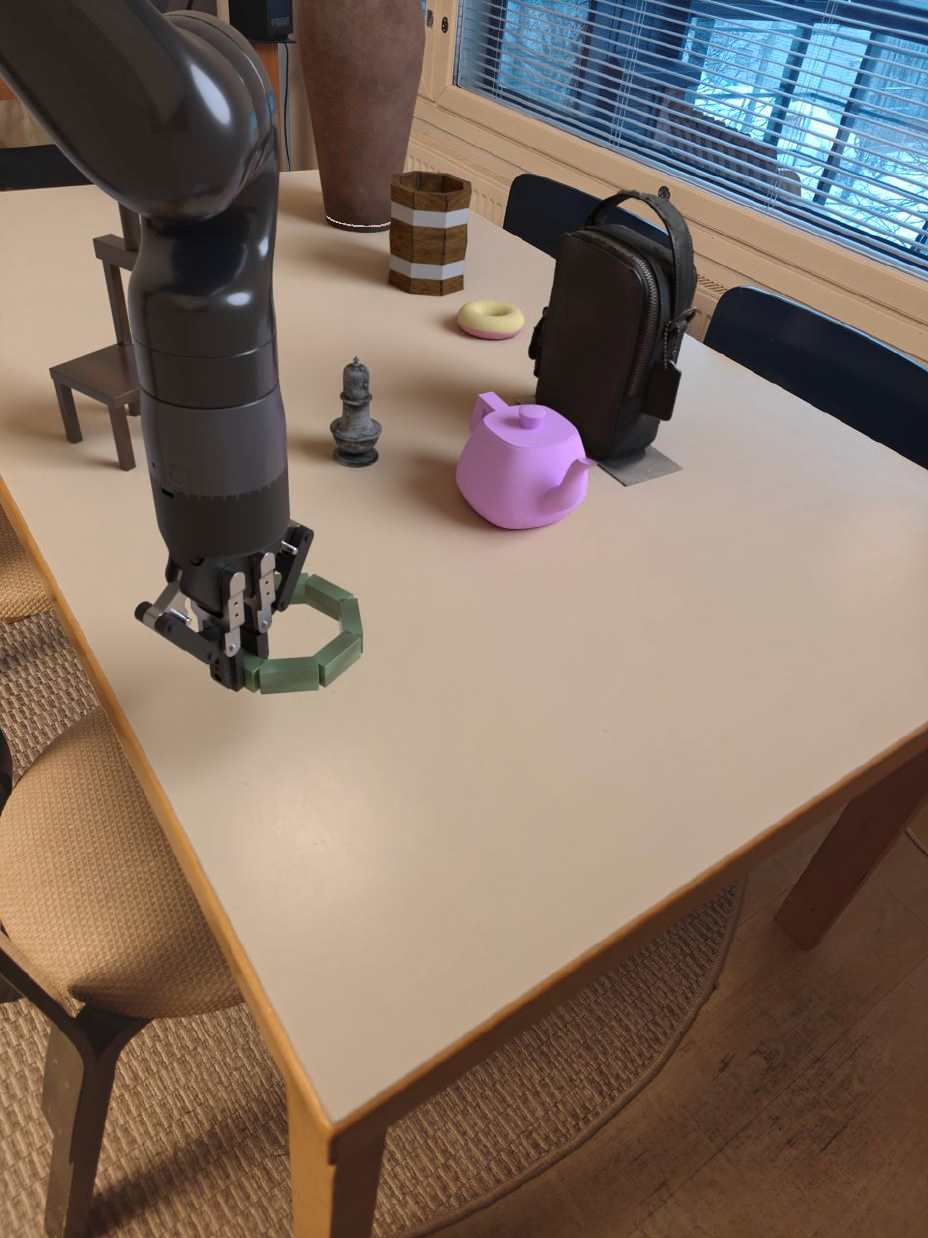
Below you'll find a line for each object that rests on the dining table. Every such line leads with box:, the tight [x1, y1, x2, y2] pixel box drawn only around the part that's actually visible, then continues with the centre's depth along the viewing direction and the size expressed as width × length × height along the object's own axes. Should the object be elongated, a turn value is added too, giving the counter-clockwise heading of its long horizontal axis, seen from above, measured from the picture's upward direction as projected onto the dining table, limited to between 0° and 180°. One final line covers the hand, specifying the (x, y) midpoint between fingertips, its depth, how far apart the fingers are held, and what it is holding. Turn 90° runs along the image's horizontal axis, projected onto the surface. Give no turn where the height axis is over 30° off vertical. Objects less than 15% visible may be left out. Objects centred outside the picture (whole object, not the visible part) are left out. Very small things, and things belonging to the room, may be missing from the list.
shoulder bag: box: [514, 188, 699, 487], centre depth 99 cm, size 23×9×28 cm, turn 33°
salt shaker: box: [329, 355, 383, 468], centre depth 95 cm, size 6×6×12 cm
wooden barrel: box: [387, 170, 473, 297], centre depth 140 cm, size 20×14×15 cm
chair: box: [48, 201, 141, 472], centre depth 89 cm, size 11×10×26 cm
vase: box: [296, 0, 427, 234], centre depth 150 cm, size 21×26×45 cm
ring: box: [240, 572, 364, 696], centre depth 61 cm, size 11×11×2 cm
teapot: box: [455, 391, 598, 530], centre depth 91 cm, size 13×20×11 cm
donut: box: [456, 299, 525, 340], centre depth 129 cm, size 10×5×9 cm
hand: (241, 675), depth 59 cm, fingers closed on ring, 1 cm apart
